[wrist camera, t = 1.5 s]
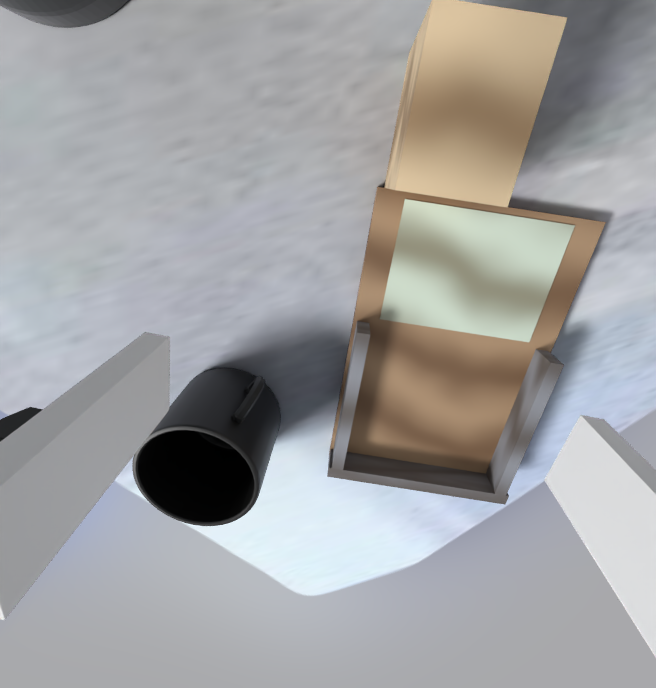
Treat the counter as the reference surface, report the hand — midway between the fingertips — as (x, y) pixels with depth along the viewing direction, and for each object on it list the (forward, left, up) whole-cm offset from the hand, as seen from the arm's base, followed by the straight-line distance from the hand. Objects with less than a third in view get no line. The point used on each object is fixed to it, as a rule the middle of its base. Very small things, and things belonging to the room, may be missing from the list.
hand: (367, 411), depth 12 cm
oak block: (-11, +4, -19) cm, 22 cm away
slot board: (+5, +8, -19) cm, 22 cm away
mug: (+14, -9, -19) cm, 25 cm away
